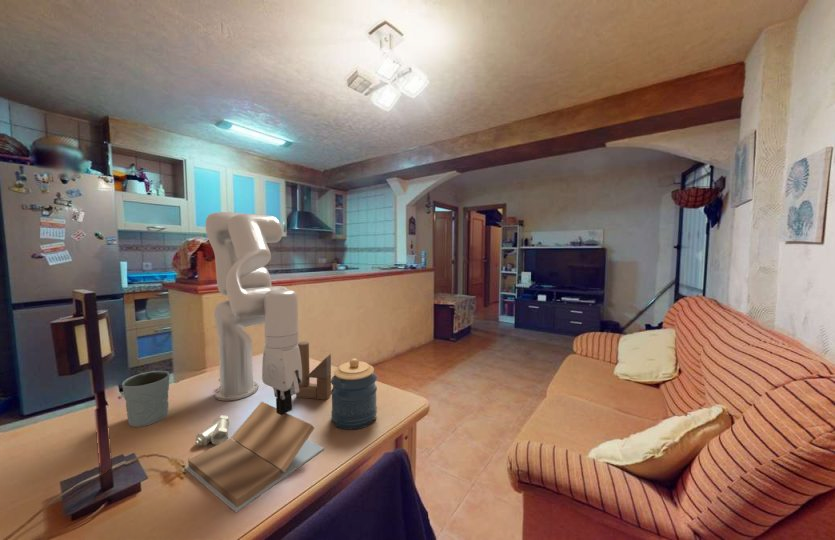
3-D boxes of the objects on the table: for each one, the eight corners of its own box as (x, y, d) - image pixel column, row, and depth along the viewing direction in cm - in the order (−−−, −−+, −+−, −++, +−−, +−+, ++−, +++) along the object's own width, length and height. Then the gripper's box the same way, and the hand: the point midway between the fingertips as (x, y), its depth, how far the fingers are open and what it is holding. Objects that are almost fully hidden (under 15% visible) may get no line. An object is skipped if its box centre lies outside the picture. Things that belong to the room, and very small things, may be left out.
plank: (234, 440, 77) (230, 437, 76) (265, 404, 83) (261, 401, 82) (284, 472, 66) (280, 469, 65) (314, 428, 73) (311, 424, 72)
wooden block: (327, 400, 99) (326, 345, 97) (295, 398, 100) (294, 344, 99) (331, 394, 102) (331, 342, 101) (301, 392, 104) (300, 340, 102)
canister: (357, 436, 80) (356, 371, 79) (321, 422, 87) (320, 361, 85) (385, 413, 92) (385, 355, 90) (352, 401, 98) (352, 348, 96)
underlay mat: (184, 468, 68) (184, 467, 68) (272, 422, 86) (272, 421, 86) (236, 512, 57) (236, 510, 57) (323, 449, 75) (323, 447, 75)
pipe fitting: (195, 453, 74) (228, 442, 77) (193, 438, 74) (226, 428, 77) (200, 435, 81) (229, 426, 84) (198, 421, 81) (227, 413, 84)
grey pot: (162, 405, 94) (159, 368, 93) (178, 414, 89) (176, 375, 88) (118, 422, 85) (115, 380, 84) (134, 433, 81) (131, 389, 80)
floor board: (188, 466, 68) (188, 459, 68) (230, 444, 76) (230, 438, 76) (237, 507, 58) (237, 499, 58) (280, 476, 65) (280, 469, 65)
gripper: (249, 339, 76) (252, 410, 77) (287, 349, 68) (290, 428, 69) (277, 332, 82) (279, 398, 84) (314, 341, 75) (316, 413, 76)
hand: (284, 411), depth 77 cm, fingers closed
